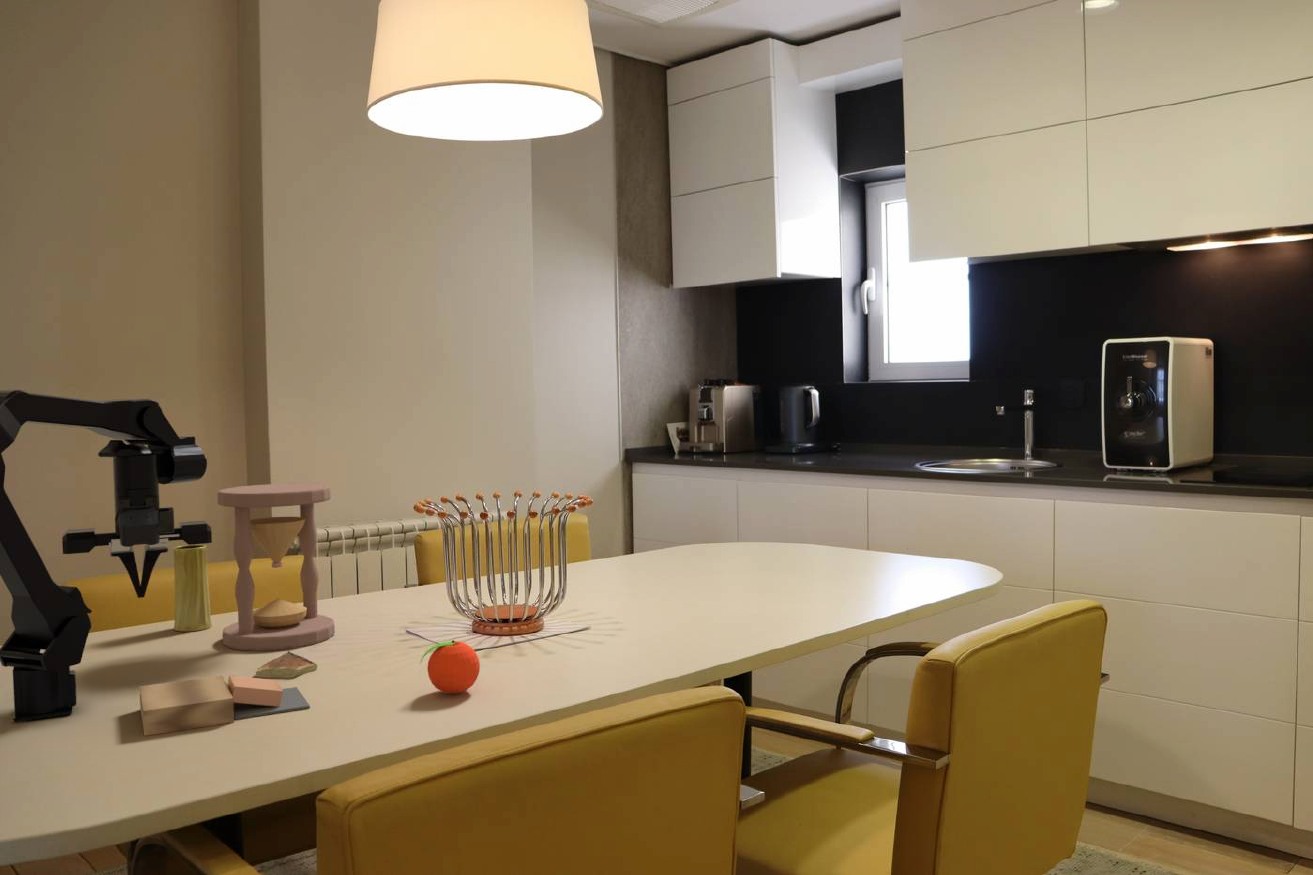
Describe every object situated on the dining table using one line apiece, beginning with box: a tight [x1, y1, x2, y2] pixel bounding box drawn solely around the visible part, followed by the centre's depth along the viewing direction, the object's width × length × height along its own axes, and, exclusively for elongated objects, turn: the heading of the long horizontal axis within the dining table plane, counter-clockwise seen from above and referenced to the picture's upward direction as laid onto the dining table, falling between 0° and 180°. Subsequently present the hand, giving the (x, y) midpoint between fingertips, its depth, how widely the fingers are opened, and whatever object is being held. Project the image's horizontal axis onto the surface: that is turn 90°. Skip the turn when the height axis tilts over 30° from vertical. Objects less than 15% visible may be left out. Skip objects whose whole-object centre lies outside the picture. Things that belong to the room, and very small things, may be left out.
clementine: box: [419, 640, 481, 695], centre depth 141 cm, size 8×7×7 cm
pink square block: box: [226, 674, 283, 707], centre depth 137 cm, size 6×6×2 cm
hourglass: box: [217, 482, 336, 652], centre depth 175 cm, size 18×18×25 cm
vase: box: [173, 544, 213, 633], centre depth 183 cm, size 6×6×14 cm
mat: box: [233, 686, 311, 720], centre depth 138 cm, size 9×10×1 cm
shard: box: [255, 651, 318, 679], centre depth 156 cm, size 11×8×2 cm
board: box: [139, 675, 235, 737], centre depth 134 cm, size 10×12×3 cm
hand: (141, 597), depth 150 cm, fingers closed
